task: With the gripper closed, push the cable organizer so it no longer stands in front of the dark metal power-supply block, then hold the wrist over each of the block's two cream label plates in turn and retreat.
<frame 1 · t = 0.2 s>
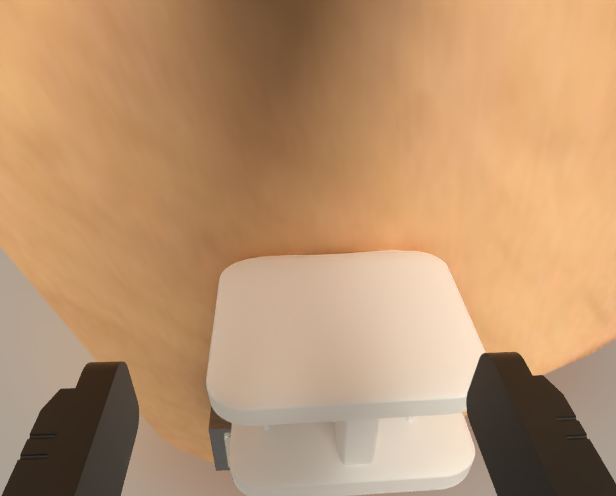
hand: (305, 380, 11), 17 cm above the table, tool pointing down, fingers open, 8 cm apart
cable organizer: (335, 300, 34), on the table
power-supply block: (318, 391, 41), on the table
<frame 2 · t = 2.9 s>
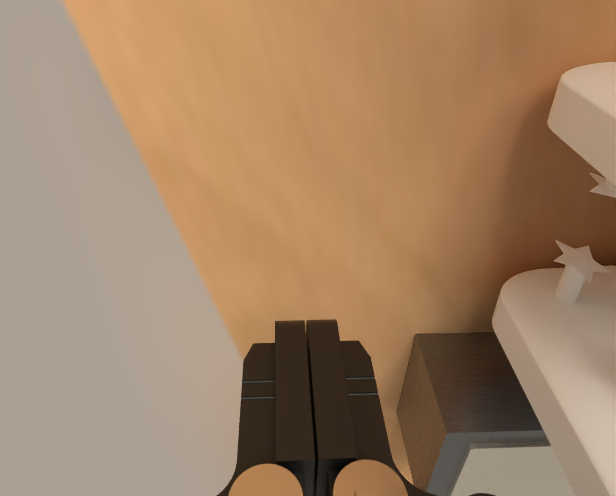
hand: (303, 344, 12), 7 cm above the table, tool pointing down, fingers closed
power-supply block: (570, 372, 24), on the table
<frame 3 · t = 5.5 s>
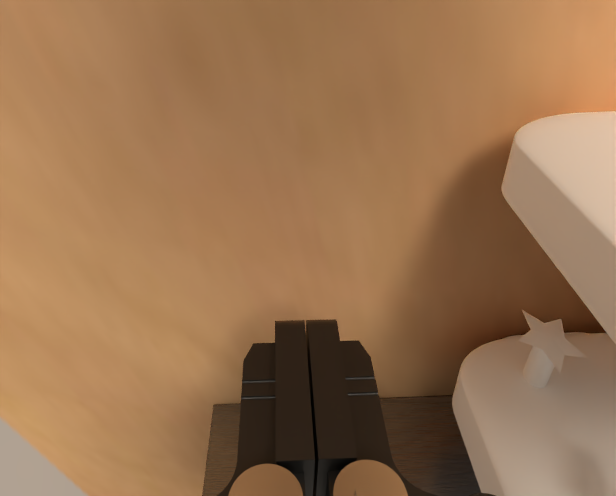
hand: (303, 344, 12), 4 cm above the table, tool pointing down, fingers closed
power-supply block: (414, 438, 21), on the table
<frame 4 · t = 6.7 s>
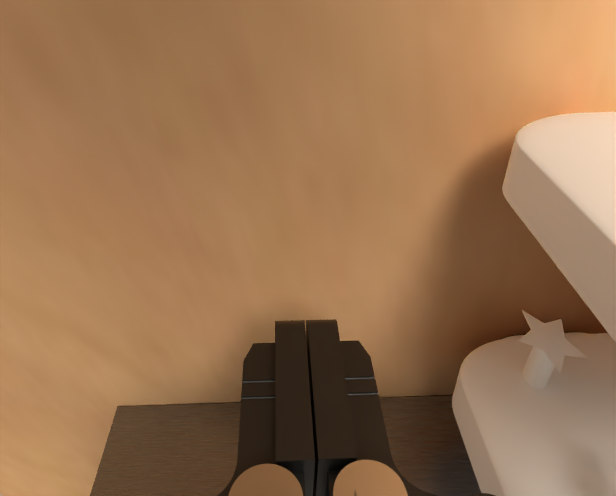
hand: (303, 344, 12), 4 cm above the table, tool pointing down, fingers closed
power-supply block: (330, 441, 21), on the table
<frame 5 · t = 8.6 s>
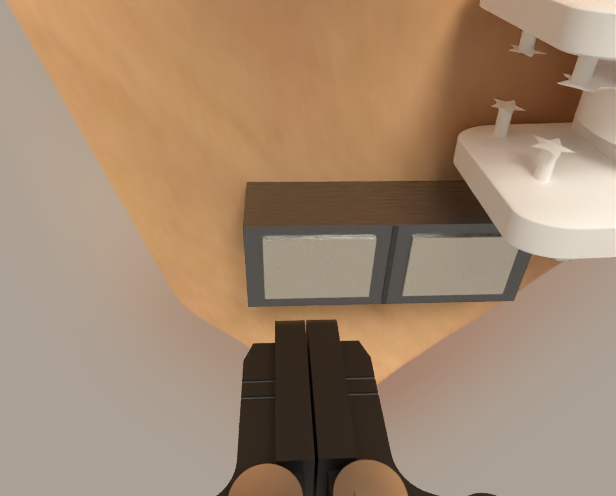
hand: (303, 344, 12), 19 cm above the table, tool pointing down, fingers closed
cable organizer: (580, 67, 27), on the table
power-supply block: (375, 220, 32), on the table
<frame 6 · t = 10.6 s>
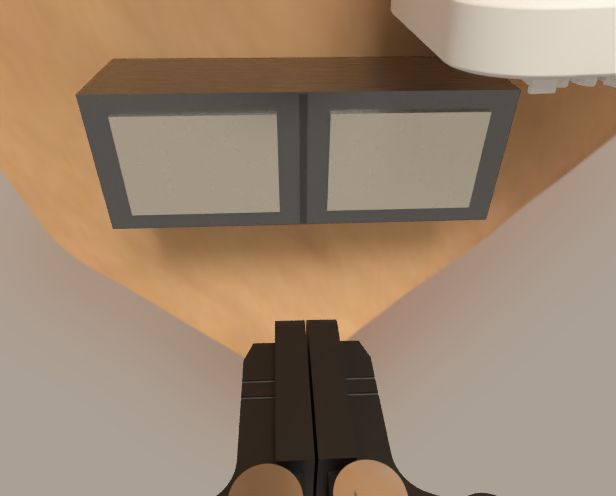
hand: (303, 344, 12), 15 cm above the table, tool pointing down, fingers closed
power-supply block: (298, 119, 24), on the table
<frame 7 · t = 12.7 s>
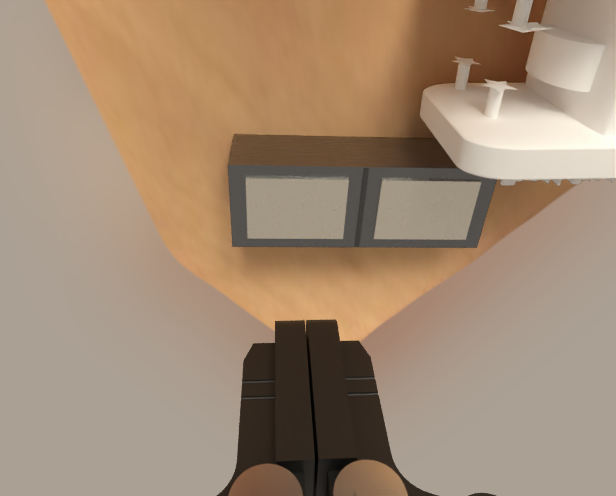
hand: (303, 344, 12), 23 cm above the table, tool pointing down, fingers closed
cable organizer: (533, 31, 31), on the table
power-supply block: (351, 175, 35), on the table
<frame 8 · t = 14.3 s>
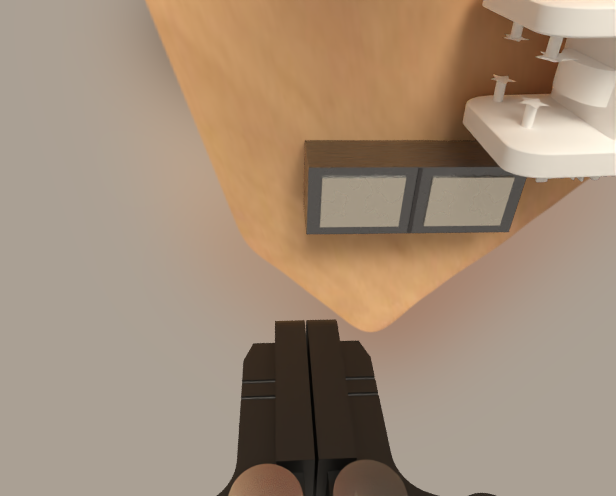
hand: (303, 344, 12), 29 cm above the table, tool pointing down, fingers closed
cable organizer: (557, 51, 37), on the table
power-supply block: (401, 172, 42), on the table
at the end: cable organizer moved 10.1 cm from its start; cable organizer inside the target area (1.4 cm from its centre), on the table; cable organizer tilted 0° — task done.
